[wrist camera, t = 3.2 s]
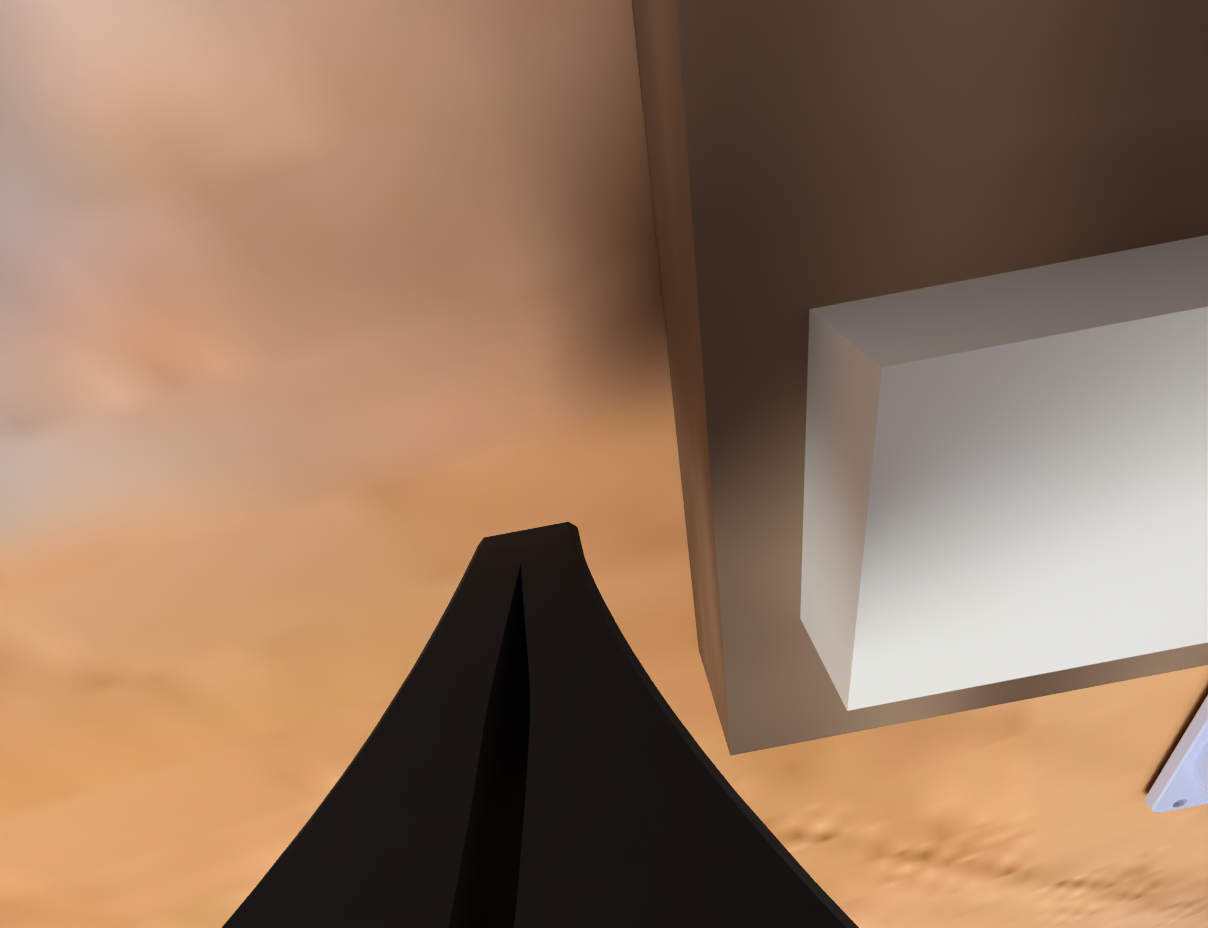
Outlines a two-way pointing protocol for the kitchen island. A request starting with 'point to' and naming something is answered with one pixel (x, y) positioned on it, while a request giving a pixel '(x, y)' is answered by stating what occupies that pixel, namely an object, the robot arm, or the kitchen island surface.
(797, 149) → the board
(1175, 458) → the tile
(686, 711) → the kitchen island surface
